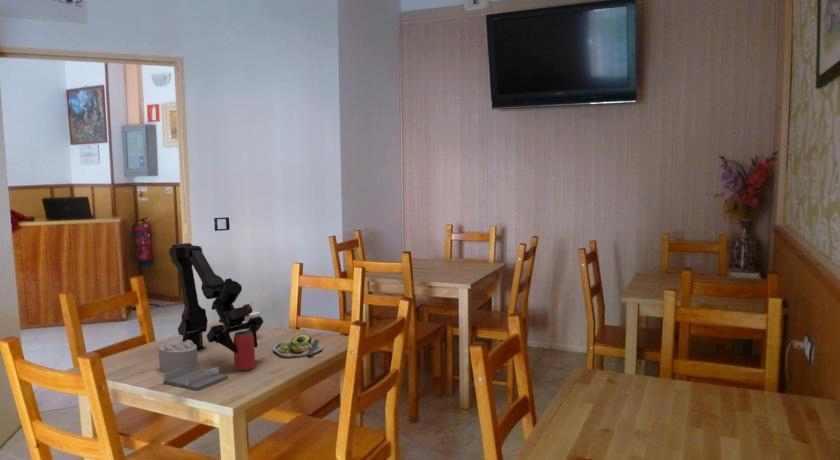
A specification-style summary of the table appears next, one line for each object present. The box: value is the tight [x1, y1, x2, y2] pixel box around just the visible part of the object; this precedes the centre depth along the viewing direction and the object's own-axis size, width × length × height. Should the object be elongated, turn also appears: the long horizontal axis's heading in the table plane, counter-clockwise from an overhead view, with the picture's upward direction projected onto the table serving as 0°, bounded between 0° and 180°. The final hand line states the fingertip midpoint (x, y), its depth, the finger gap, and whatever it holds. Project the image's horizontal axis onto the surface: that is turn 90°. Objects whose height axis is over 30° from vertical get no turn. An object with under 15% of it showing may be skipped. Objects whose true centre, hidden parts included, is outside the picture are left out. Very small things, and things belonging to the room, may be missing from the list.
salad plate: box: [272, 333, 323, 359], centre depth 223 cm, size 19×18×5 cm
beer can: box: [232, 330, 256, 372], centre depth 204 cm, size 7×7×12 cm
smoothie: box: [243, 301, 261, 338], centre depth 242 cm, size 6×6×14 cm
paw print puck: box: [158, 339, 199, 373], centre depth 206 cm, size 10×13×9 cm
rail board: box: [162, 363, 229, 392], centre depth 193 cm, size 12×15×3 cm
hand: (246, 349), depth 203 cm, fingers open, 7 cm apart
